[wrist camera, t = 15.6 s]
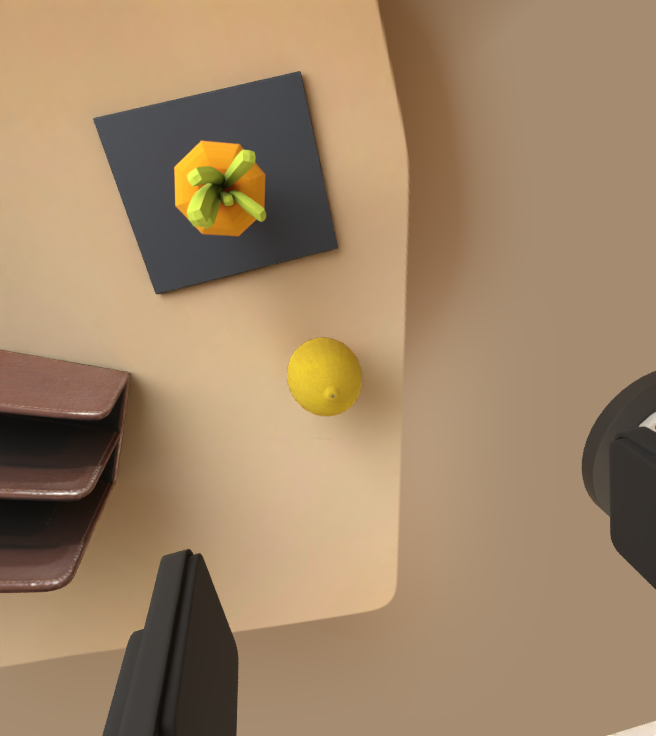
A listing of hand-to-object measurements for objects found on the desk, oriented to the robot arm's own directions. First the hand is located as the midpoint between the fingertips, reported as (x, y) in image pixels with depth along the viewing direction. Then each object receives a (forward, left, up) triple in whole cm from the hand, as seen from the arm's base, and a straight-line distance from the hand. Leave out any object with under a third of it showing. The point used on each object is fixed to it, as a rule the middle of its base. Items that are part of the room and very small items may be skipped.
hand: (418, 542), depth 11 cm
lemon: (0, +6, -30) cm, 31 cm away
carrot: (+3, -8, -30) cm, 31 cm away
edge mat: (+3, -8, -30) cm, 31 cm away
